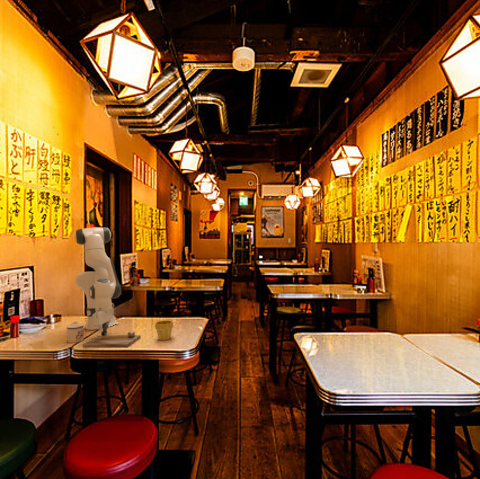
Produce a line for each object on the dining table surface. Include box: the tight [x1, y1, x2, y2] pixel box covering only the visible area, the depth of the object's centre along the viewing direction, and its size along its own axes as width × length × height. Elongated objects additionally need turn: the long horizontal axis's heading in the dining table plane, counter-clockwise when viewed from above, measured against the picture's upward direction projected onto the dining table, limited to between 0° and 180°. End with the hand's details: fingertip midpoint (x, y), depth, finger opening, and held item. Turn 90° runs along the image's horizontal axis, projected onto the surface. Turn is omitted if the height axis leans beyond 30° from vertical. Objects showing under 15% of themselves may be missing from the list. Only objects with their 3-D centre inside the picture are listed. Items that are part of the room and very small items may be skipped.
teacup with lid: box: [66, 320, 85, 344], centre depth 200 cm, size 12×9×12 cm
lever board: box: [82, 334, 141, 348], centre depth 192 cm, size 18×26×2 cm
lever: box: [100, 323, 136, 338], centre depth 197 cm, size 20×4×9 cm, turn 90°
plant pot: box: [154, 319, 174, 341], centre depth 197 cm, size 10×10×10 cm
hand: (104, 330), depth 197 cm, fingers open, 7 cm apart
